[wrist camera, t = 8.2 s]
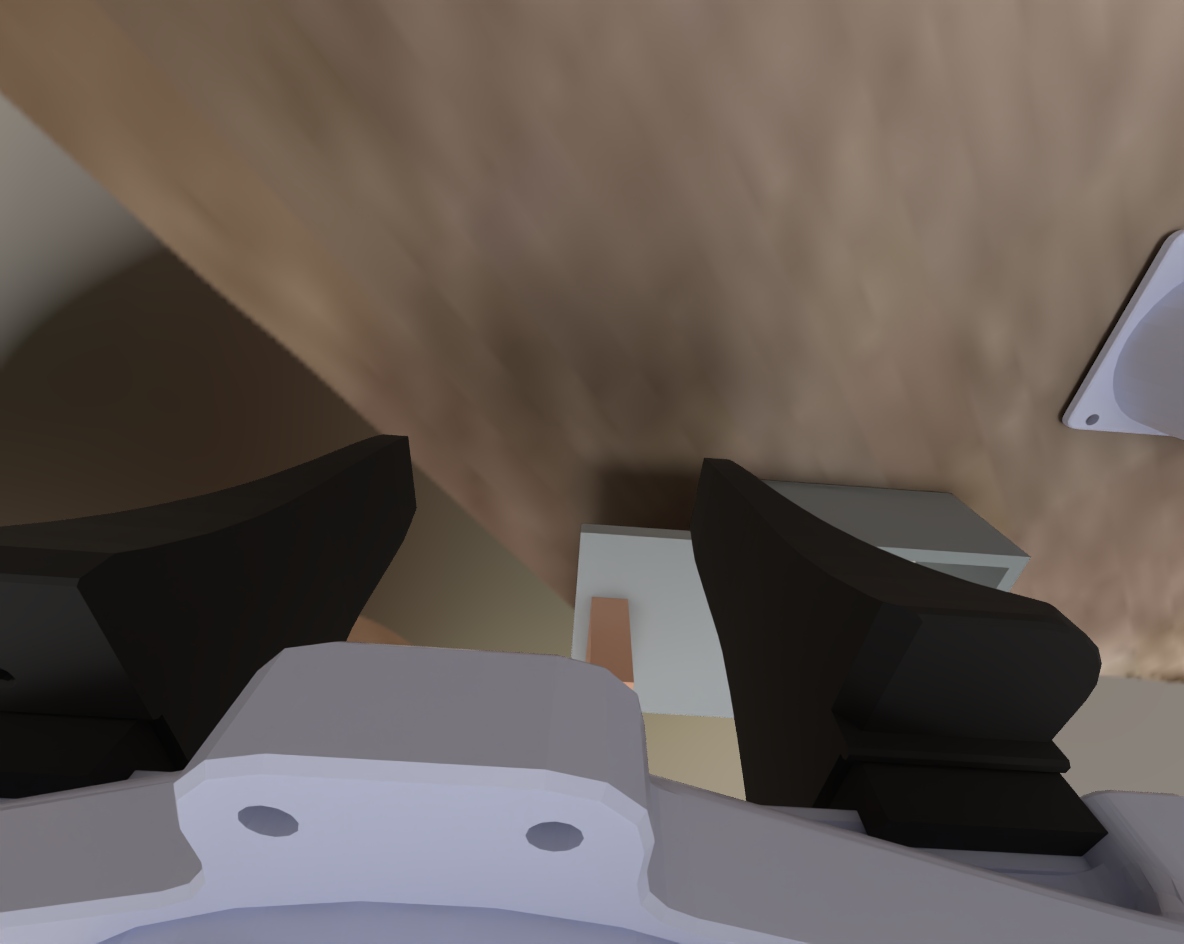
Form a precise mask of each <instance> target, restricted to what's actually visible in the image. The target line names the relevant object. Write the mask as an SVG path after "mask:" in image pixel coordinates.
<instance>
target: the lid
mask: <svg viewBox="0 0 1184 944" xmlns="http://www.w3.org/2000/svg"><path fill="white" fill-rule="evenodd" d="M571 658H572V659H576V660H580V661H584V662H588V663H592V664H596V665H600V666H602V667H604V668H606V669H607V670H609V671H610V672H611V673H612V674H614V675H615V676H616V677H617V678H618V679H620V680H621V681H622V682H623V683H625V684H626V685H627V686H628V687H629V688H631V689H632V690H633V691H634V692H636V693H637V694H638V697H639V702H640V706H641V711H642V712H644V713H662V714H679V715H694V716H712V717H727V718H734V714H733V708H732V702H731V696H730V690H729V685H728V680H727V675H726V669H725V664H724V659H723V654H722V649H721V646H720V642H719V638H718V634H717V631H716V628H715V625H714V621H713V618H712V615H711V612H710V609H709V605H708V602H707V599H706V596H705V593H704V590H703V586H702V583H701V580H700V576H699V573H698V570H697V566H696V563H695V559H694V553H693V547H692V540H691V533H690V531H684V530H669V529H655V528H640V527H626V526H611V525H597V524H583V523H581V536H580V549H579V562H578V575H577V588H576V601H575V614H574V628H573V640H572V653H571Z"/></svg>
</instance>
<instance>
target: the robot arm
mask: <svg viewBox="0 0 1184 944" xmlns="http://www.w3.org/2000/svg"><path fill="white" fill-rule="evenodd" d="M1089 416H1090V418H1089V419H1088V420H1087V418H1088V417H1089ZM1062 421H1063V424H1064V425H1066V426H1068V427H1070V428H1073V429H1082V430H1096V431H1109V432H1122V433H1135V434H1149V435H1162V436H1174V437H1176V438H1179V439H1181V440H1184V229H1182V230H1178V231H1176V232H1174V233H1173V234H1172V235H1170V236H1169V237H1168V238H1167V239H1166V241H1165V242H1164V243H1163V245H1162V247H1161V249H1160V250H1159V252H1158V254H1157V255H1156V257H1155V259H1154V261H1153V262H1152V264H1151V266H1150V267H1149V269H1148V271H1147V273H1146V274H1145V276H1144V278H1143V280H1142V281H1141V283H1140V285H1139V286H1138V288H1137V290H1136V292H1135V293H1134V295H1133V297H1132V298H1131V300H1130V302H1129V304H1128V305H1127V307H1126V309H1125V311H1124V312H1123V314H1122V316H1121V317H1120V319H1119V321H1118V323H1117V324H1116V326H1115V328H1114V329H1113V331H1112V333H1111V335H1110V336H1109V338H1108V340H1107V341H1106V343H1105V345H1104V347H1103V348H1102V350H1101V352H1100V354H1099V355H1098V357H1097V359H1096V360H1095V362H1094V364H1093V366H1092V367H1091V369H1090V371H1089V372H1088V374H1087V376H1086V378H1085V379H1084V381H1083V383H1082V385H1081V386H1080V388H1079V390H1078V391H1077V393H1076V395H1075V397H1074V398H1073V400H1072V402H1071V403H1070V405H1069V407H1068V409H1067V410H1066V412H1065V414H1064V416H1063V419H1062ZM415 511H416V499H415V490H414V482H413V473H412V465H411V457H410V448H409V440H408V436H397V435H378V436H374V437H371V438H368V439H365V440H362V441H360V442H357V443H354V444H352V445H349V446H347V447H344V448H342V449H339V450H337V451H334V452H332V453H329V454H327V455H324V456H322V457H319V458H317V459H314V460H312V461H309V462H306V463H303V464H301V465H298V466H296V467H292V468H290V469H287V470H284V471H281V472H279V473H276V474H273V475H270V476H268V477H265V478H262V479H258V480H255V481H252V482H249V483H246V484H242V485H239V486H235V487H231V488H228V489H224V490H221V491H217V492H213V493H209V494H206V495H201V496H196V497H192V498H187V499H182V500H178V501H173V502H169V503H164V504H159V505H155V506H150V507H145V508H139V509H134V510H128V511H122V512H116V513H110V514H103V515H96V516H89V517H82V518H75V519H67V520H59V521H51V522H42V523H32V524H22V525H12V526H2V527H0V944H1184V797H1183V796H1179V795H1175V794H1167V793H1151V792H1150V793H1149V792H1133V791H1132V792H1131V791H1114V790H1105V791H1095V792H1092V793H1089V794H1086V795H1083V796H1081V797H1079V796H1078V795H1077V794H1076V793H1075V791H1074V790H1073V789H1072V788H1071V787H1070V785H1069V784H1068V783H1067V782H1066V780H1065V779H1064V778H1063V777H1062V775H1061V774H1060V773H1066V772H1067V771H1068V770H1069V769H1070V762H1069V760H1068V759H1067V757H1066V756H1065V755H1064V754H1063V753H1062V752H1061V750H1060V749H1059V748H1058V747H1057V746H1056V745H1055V743H1054V742H1053V741H1052V739H1053V738H1054V737H1055V735H1056V734H1057V733H1058V732H1059V731H1060V730H1061V729H1062V727H1063V726H1064V725H1065V724H1066V722H1068V721H1069V719H1070V718H1071V717H1072V716H1073V715H1074V714H1075V712H1076V711H1077V710H1078V709H1079V708H1080V707H1081V706H1082V704H1083V703H1084V702H1085V701H1086V700H1087V698H1088V697H1089V695H1090V694H1091V692H1092V691H1093V689H1094V688H1095V686H1096V685H1097V681H1098V677H1099V673H1100V669H1101V664H1102V663H1101V658H1100V654H1099V649H1098V647H1097V646H1096V645H1095V644H1094V643H1093V641H1092V640H1091V639H1090V638H1089V637H1088V636H1087V635H1086V634H1085V633H1084V632H1083V631H1082V630H1080V629H1079V628H1078V627H1077V626H1076V625H1075V624H1074V623H1072V622H1071V621H1070V620H1069V619H1068V618H1067V617H1065V616H1064V615H1063V614H1062V613H1061V612H1060V611H1059V610H1057V609H1056V608H1055V607H1054V606H1052V605H1051V604H1049V603H1046V602H1042V601H1039V600H1035V599H1031V598H1028V597H1024V596H1020V595H1017V594H1013V593H1009V592H1006V591H1002V590H998V589H995V588H991V587H987V586H984V585H980V584H976V583H973V582H970V581H967V580H964V579H961V578H958V577H955V576H952V575H949V574H946V573H943V572H940V571H937V570H934V569H931V568H928V567H925V566H923V565H920V564H917V563H914V562H912V561H909V560H907V559H904V558H902V557H899V556H897V555H894V554H892V553H890V552H887V551H885V550H882V549H880V548H878V547H875V546H873V545H871V544H869V543H866V542H864V541H862V540H860V539H858V538H856V537H854V536H852V535H850V534H848V533H846V532H844V531H842V530H840V529H838V528H836V527H834V526H832V525H830V524H829V523H827V522H825V521H823V520H821V519H820V518H818V517H816V516H815V515H813V514H811V513H810V512H808V511H806V510H805V509H803V508H801V507H800V506H798V505H797V504H795V503H794V502H792V501H790V500H789V499H787V498H786V497H784V496H783V495H781V494H780V493H778V492H777V491H776V490H774V489H773V488H771V487H770V486H768V485H767V484H766V483H764V482H763V481H761V480H760V479H758V478H757V477H756V476H754V475H753V474H751V473H750V472H748V471H747V470H745V469H744V468H743V467H741V466H739V465H738V464H736V463H735V462H733V461H731V460H727V459H713V458H704V461H703V465H702V470H701V475H700V480H699V485H698V489H697V494H696V499H695V504H694V509H693V513H692V518H691V523H690V533H691V540H692V547H693V553H694V559H695V563H696V566H697V570H698V573H699V576H700V580H701V583H702V586H703V590H704V593H705V596H706V599H707V602H708V605H709V609H710V612H711V615H712V618H713V621H714V625H715V628H716V631H717V634H718V638H719V642H720V646H721V649H722V654H723V659H724V664H725V669H726V675H727V680H728V685H729V690H730V696H731V702H732V708H733V714H734V720H735V726H736V732H737V738H738V745H739V752H740V759H741V766H742V773H743V780H744V787H745V794H746V801H744V800H740V799H736V798H733V797H730V796H726V795H723V794H719V793H716V792H712V791H709V790H705V789H702V788H698V787H694V786H691V785H687V784H684V783H680V782H677V781H673V780H670V779H666V778H663V777H659V776H655V775H652V774H649V769H648V758H647V748H646V735H645V725H644V720H643V716H642V711H641V706H640V702H639V697H638V694H637V693H636V692H634V691H633V690H632V689H631V688H629V687H628V686H627V685H626V684H625V683H623V682H622V681H621V680H620V679H618V678H617V677H616V676H615V675H614V674H612V673H611V672H610V671H609V670H607V669H606V668H604V667H602V666H600V665H596V664H592V663H588V662H584V661H580V660H576V659H572V658H568V657H564V656H560V655H551V654H535V653H520V652H504V651H487V650H472V649H455V648H441V647H425V646H409V645H393V644H377V643H361V642H346V640H347V638H348V636H349V633H350V631H351V629H352V627H353V625H354V624H355V622H356V620H357V618H358V616H359V614H360V612H361V611H362V609H363V607H364V606H365V604H366V602H367V601H368V599H369V597H370V596H371V594H372V593H373V591H374V589H375V588H376V586H377V584H378V583H379V581H380V579H381V578H382V576H383V574H384V573H385V571H386V570H387V568H388V566H389V565H390V563H391V561H392V560H393V558H394V556H395V554H396V553H397V551H398V549H399V548H400V546H401V544H402V542H403V541H404V538H405V536H406V534H407V531H408V529H409V526H410V524H411V521H412V518H413V516H414V514H415Z"/></svg>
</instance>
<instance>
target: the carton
mask: <svg viewBox="0 0 1184 944" xmlns="http://www.w3.org/2000/svg"><path fill="white" fill-rule="evenodd" d="M761 481H763V482H764V483H766V484H767V485H768V486H770V487H771V488H773V489H774V490H776V491H777V492H778V493H780V494H781V495H783V496H784V497H786V498H787V499H789V500H790V501H792V502H794V503H795V504H797V505H798V506H800V507H801V508H803V509H805V510H806V511H808V512H810V513H811V514H813V515H815V516H816V517H818V518H820V519H821V520H823V521H825V522H827V523H829V524H830V525H832V526H834V527H836V528H838V529H840V530H842V531H844V532H846V533H848V534H850V535H852V536H854V537H856V538H858V539H860V540H862V541H864V542H866V543H869V544H871V545H873V546H875V547H878V548H880V549H882V550H885V551H887V552H890V553H892V554H894V555H897V556H899V557H902V558H904V559H907V560H909V561H912V562H914V563H917V564H920V565H923V566H925V567H928V568H931V569H934V570H937V571H940V572H943V573H946V574H949V575H952V576H955V577H958V578H961V579H964V580H967V581H970V582H973V583H976V584H980V585H984V586H987V587H991V588H995V589H998V590H1002V591H1006V592H1009V591H1010V589H1011V588H1012V586H1013V585H1014V583H1015V581H1016V580H1017V578H1018V577H1019V575H1020V574H1021V572H1022V571H1023V569H1024V567H1025V566H1026V564H1027V563H1028V561H1029V560H1030V558H1031V557H1030V556H1029V555H1028V554H1026V553H1025V552H1024V551H1023V550H1021V549H1020V548H1019V547H1018V546H1016V545H1015V544H1014V543H1013V542H1011V541H1010V540H1009V539H1008V538H1006V537H1005V536H1004V535H1003V534H1001V533H1000V532H999V531H998V530H996V529H995V528H994V527H993V526H991V525H990V524H989V523H988V522H986V521H985V520H984V519H983V518H981V517H980V516H979V515H978V514H976V513H975V512H974V511H973V510H971V509H970V508H969V507H968V506H966V505H965V504H964V503H963V502H961V501H960V500H959V499H958V498H956V497H955V496H954V495H953V494H951V493H939V492H925V491H911V490H897V489H883V488H869V487H855V486H841V485H827V484H813V483H799V482H785V481H772V480H761Z"/></svg>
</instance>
